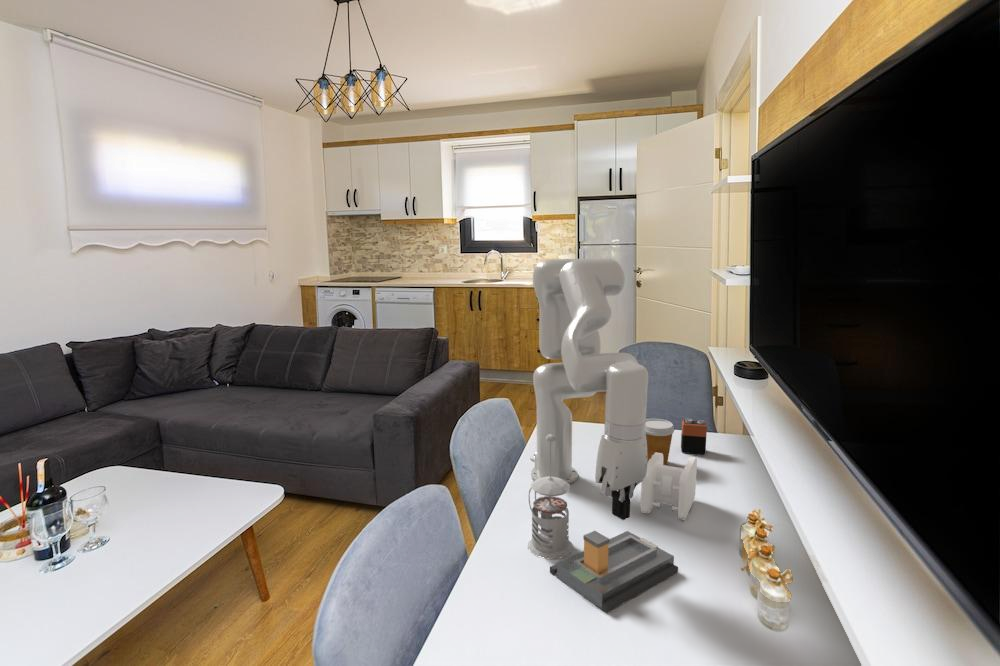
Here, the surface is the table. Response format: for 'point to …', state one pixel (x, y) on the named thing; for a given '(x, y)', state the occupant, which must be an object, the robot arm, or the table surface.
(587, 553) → the lever
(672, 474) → the cable organizer
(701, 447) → the battery
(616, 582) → the panel
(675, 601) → the table surface
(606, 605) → the dark grey thin bar
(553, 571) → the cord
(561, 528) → the french press
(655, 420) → the disposable coffee cup
